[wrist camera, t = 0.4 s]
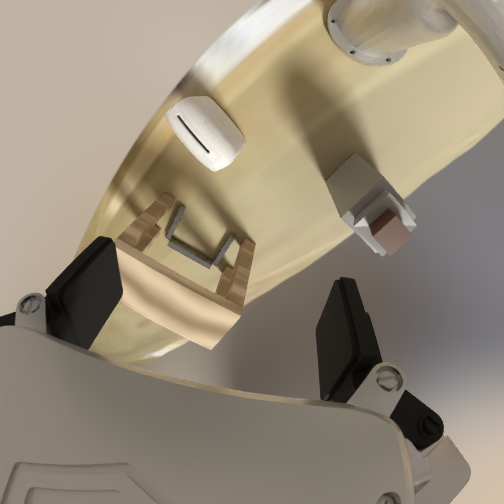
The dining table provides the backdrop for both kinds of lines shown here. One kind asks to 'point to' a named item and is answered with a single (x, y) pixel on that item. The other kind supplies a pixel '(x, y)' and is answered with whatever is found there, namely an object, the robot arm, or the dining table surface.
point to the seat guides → (190, 252)
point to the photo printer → (206, 131)
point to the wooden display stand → (179, 284)
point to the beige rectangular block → (371, 205)
